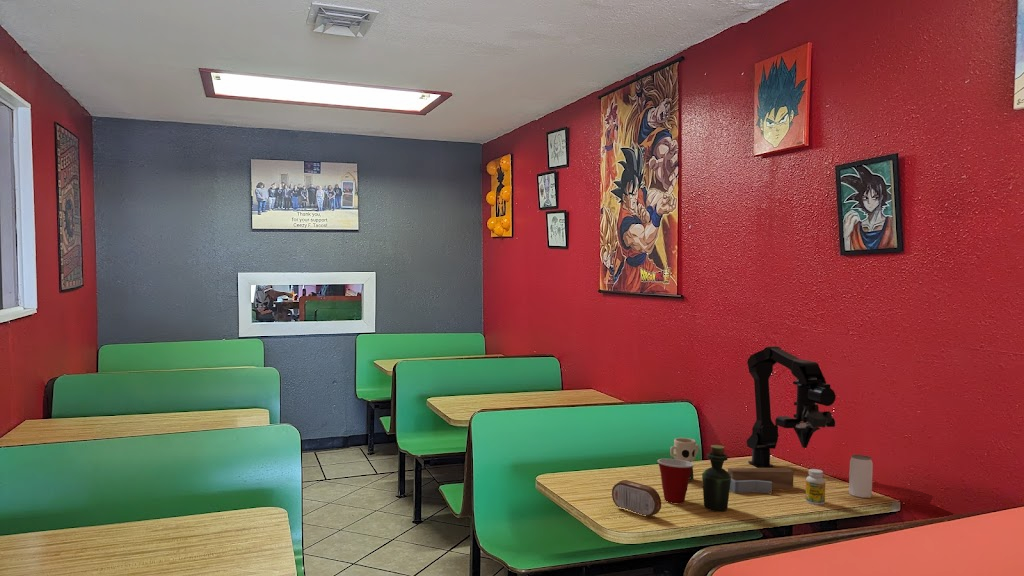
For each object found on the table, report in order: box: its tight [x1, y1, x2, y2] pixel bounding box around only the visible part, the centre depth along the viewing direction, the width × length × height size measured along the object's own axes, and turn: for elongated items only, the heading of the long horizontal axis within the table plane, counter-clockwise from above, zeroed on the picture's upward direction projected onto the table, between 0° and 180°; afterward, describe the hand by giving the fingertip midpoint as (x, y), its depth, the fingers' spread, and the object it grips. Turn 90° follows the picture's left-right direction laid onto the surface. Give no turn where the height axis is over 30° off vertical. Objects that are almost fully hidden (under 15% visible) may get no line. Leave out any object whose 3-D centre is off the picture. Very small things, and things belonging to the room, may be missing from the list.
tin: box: [611, 479, 662, 518], centre depth 200 cm, size 15×3×8 cm, turn 48°
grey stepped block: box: [729, 478, 773, 494], centre depth 226 cm, size 12×15×4 cm
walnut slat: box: [727, 467, 794, 490], centre depth 227 cm, size 4×20×6 cm, turn 94°
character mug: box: [669, 437, 700, 481], centre depth 234 cm, size 11×7×13 cm, turn 111°
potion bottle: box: [701, 444, 731, 513], centre depth 205 cm, size 8×8×18 cm
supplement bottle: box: [805, 468, 826, 506], centre depth 213 cm, size 5×5×10 cm
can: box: [848, 454, 874, 499], centre depth 221 cm, size 6×6×12 cm
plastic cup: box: [657, 458, 695, 504], centre depth 211 cm, size 11×11×12 cm
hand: (804, 447), depth 231 cm, fingers closed
